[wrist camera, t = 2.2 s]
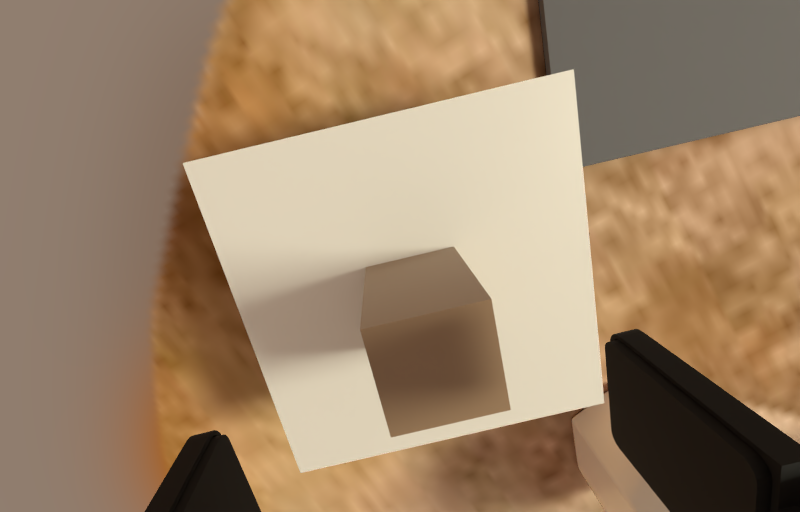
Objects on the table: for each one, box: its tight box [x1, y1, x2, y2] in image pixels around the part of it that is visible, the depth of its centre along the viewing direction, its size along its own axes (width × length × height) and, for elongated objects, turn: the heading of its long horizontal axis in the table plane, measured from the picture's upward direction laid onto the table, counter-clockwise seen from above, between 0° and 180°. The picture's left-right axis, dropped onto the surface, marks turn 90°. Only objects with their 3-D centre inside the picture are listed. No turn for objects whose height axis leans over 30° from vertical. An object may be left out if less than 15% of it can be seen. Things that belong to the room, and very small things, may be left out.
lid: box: [183, 69, 604, 473], centre depth 16 cm, size 16×16×7 cm
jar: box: [572, 391, 670, 512], centre depth 24 cm, size 9×8×12 cm
